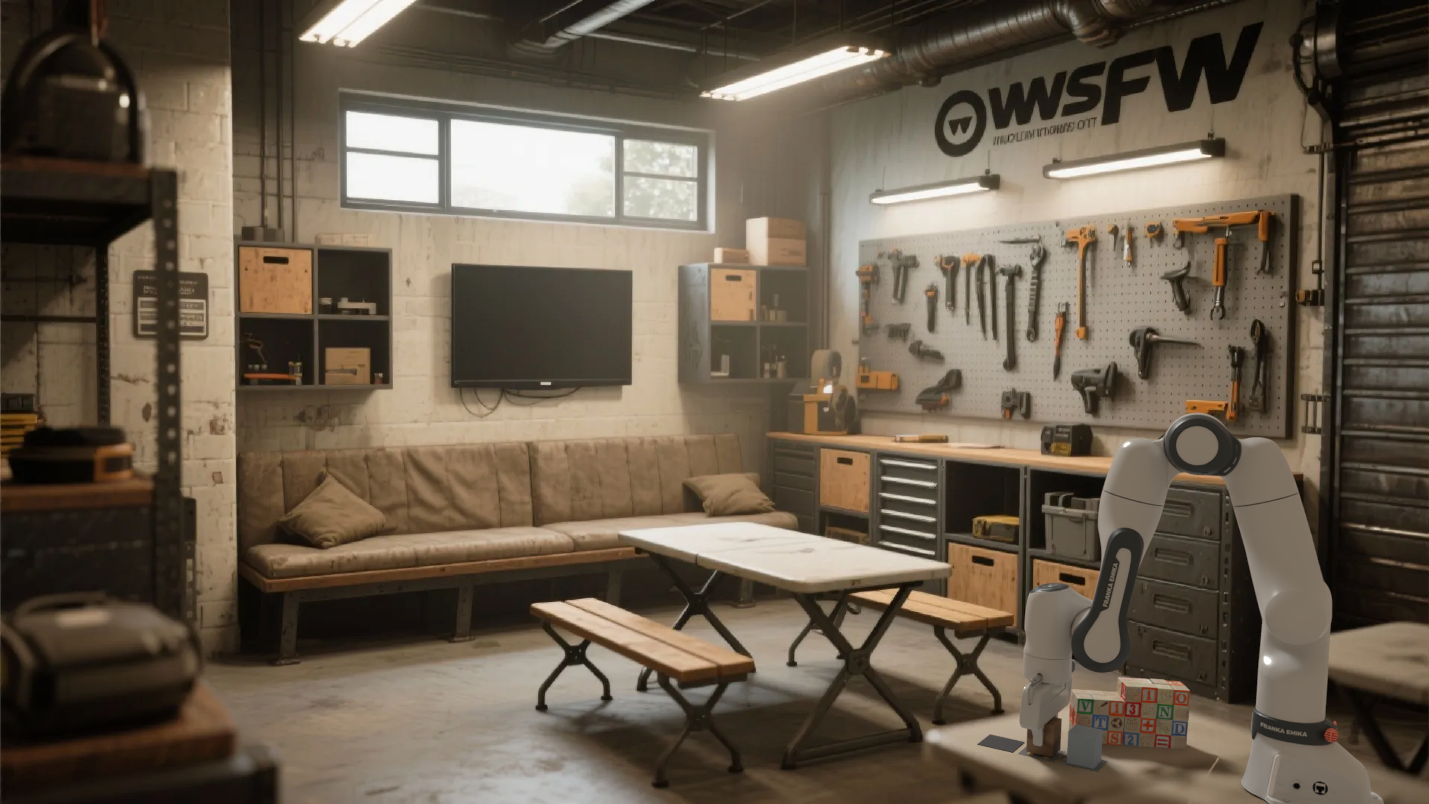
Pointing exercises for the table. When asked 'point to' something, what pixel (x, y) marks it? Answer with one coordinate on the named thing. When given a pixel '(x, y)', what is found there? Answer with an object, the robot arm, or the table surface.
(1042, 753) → the walnut block
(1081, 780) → the table surface
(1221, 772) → the table surface
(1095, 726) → the stack of blocks
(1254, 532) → the robot arm
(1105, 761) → the code tile
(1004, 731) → the table surface
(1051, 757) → the code tile
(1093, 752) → the slate-blue block
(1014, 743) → the rubber mat
